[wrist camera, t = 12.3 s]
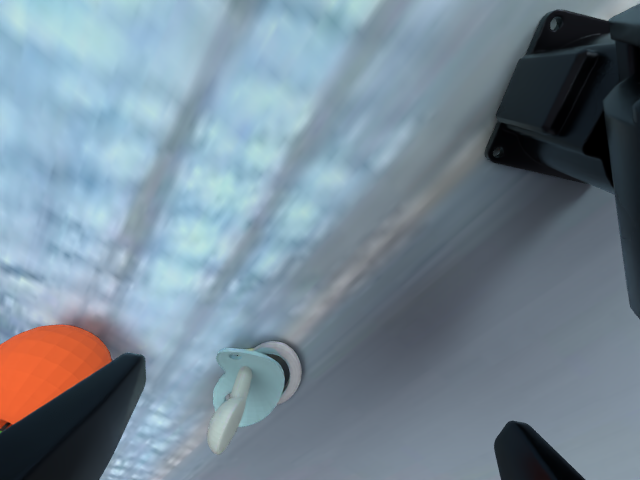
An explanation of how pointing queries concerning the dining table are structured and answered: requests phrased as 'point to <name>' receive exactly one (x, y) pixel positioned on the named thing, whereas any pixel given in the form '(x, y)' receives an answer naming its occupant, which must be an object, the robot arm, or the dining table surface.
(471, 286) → the dining table surface
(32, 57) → the dining table surface
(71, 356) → the clementine
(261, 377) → the pacifier
